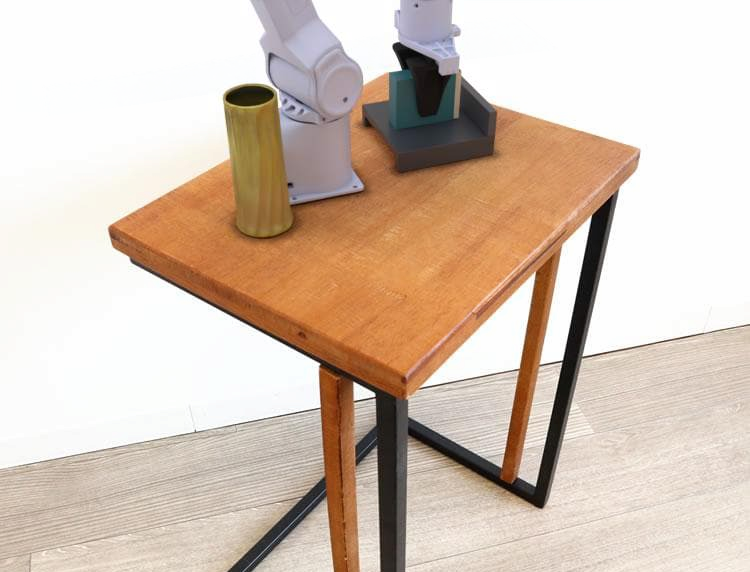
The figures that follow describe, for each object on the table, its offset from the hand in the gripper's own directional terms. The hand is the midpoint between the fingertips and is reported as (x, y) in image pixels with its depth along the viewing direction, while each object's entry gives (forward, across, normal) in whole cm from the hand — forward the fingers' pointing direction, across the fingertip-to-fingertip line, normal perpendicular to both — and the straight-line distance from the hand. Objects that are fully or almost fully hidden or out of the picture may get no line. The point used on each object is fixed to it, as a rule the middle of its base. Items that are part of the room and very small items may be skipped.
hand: (423, 109), depth 100 cm
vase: (+4, -11, +22) cm, 25 cm away
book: (+1, 0, 0) cm, 1 cm away
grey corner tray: (+4, 0, 0) cm, 4 cm away
